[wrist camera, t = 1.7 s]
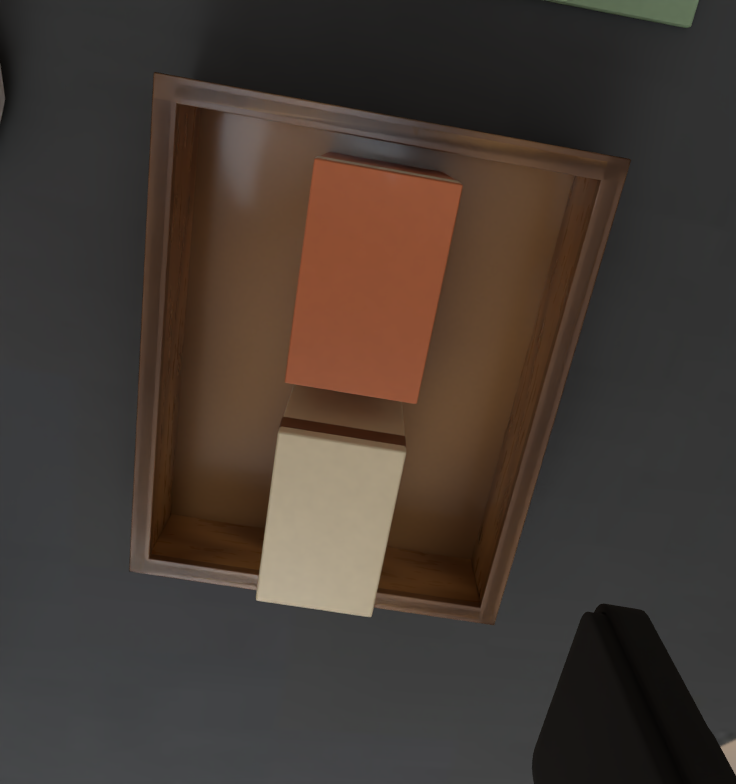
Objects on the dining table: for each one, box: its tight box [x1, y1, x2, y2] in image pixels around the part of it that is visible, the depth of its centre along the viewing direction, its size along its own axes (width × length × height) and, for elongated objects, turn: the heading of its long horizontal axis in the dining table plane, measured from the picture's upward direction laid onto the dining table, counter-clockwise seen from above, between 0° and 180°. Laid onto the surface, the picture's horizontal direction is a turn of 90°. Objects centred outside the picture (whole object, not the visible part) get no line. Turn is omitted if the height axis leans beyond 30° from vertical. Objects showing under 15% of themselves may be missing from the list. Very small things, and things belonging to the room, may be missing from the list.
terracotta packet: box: [285, 152, 463, 404], centre depth 27 cm, size 5×8×7 cm, turn 170°
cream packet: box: [256, 384, 406, 617], centre depth 31 cm, size 5×8×7 cm, turn 170°
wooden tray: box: [129, 72, 631, 625], centre depth 30 cm, size 18×22×4 cm
